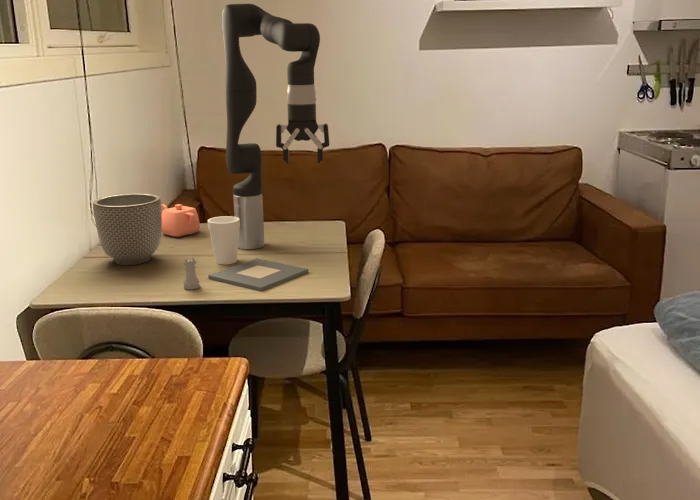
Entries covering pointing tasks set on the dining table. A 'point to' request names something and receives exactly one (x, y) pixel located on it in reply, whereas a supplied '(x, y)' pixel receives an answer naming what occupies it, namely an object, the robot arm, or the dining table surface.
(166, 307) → the dining table surface
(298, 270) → the board
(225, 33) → the robot arm
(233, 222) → the foam cup
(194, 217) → the teapot
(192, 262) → the rook chess piece
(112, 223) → the planter
